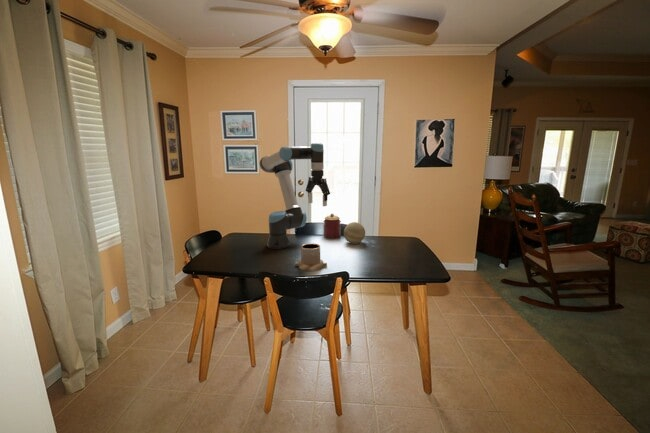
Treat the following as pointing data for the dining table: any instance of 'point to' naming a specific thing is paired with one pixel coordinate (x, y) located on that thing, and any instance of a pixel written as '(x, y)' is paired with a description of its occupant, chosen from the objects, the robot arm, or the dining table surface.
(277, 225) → the robot arm
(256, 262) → the dining table surface
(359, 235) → the decorative ball
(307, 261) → the planter
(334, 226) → the canister
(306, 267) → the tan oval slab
